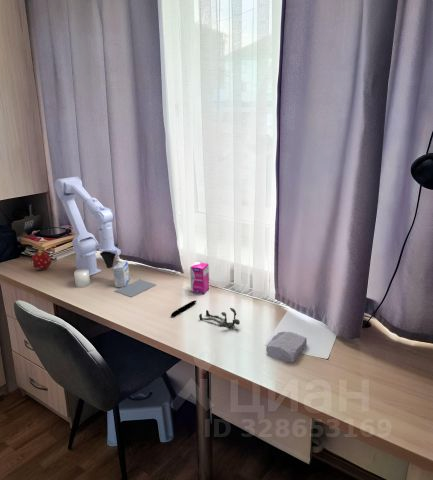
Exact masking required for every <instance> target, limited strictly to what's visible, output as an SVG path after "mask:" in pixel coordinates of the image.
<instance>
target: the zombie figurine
mask: <svg viewBox="0 0 433 480" xmlns="http://www.w3.org/2000/svg"><path fill="white" fill-rule="evenodd" d="M229 310H230V311H231V312H233V319H232V321H231V322H228V321H227V320H228V319H227V313H226V312H224V311H222V312H221V313H220V315H222V316H223V317H224V318H223V317H222V316H219V315H213V314H210V312H209V310H208V309H206V311H205V316H206V317H204V318H203V316H202V315H203V314H202V313H200V314H199V315H198V317H199V321H215V322H216V323H218V324H219V325H220V326H223V327H226V328H233V327H235V325H237V326H239V325H240V324H241V323H240V322H241V321H240V320H239V319H237V318H236V316H237V311H236V310H235V309H234V308H232V307H230V308H229Z"/></svg>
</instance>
